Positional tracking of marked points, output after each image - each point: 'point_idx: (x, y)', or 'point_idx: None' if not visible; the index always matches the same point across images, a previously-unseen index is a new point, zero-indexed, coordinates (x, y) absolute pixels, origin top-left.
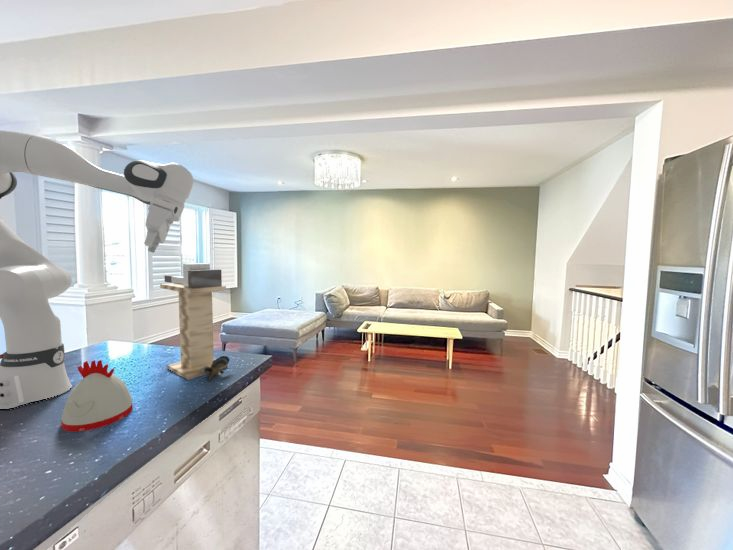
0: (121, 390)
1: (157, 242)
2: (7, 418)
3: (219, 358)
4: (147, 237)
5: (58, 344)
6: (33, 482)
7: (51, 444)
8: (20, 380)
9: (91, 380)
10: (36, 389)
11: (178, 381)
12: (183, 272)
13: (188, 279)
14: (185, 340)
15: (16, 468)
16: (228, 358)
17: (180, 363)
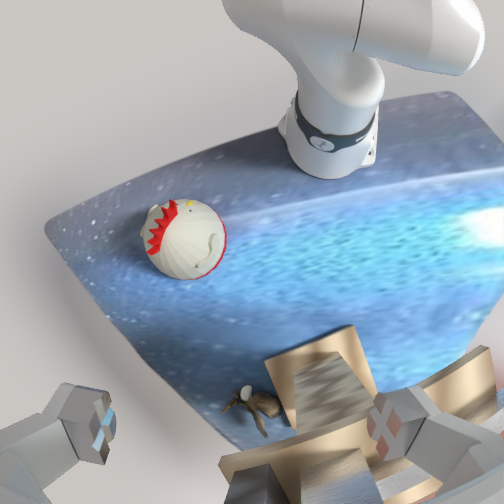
0: (160, 267)
1: (442, 491)
2: (248, 135)
3: (257, 424)
4: (28, 426)
5: (330, 131)
6: (85, 215)
7: (141, 207)
8: (287, 117)
9: (150, 226)
10: (292, 141)
11: (267, 344)
12: (370, 482)
13: (264, 484)
14: (320, 378)
15: (113, 193)
16: (266, 437)
17: (348, 350)
